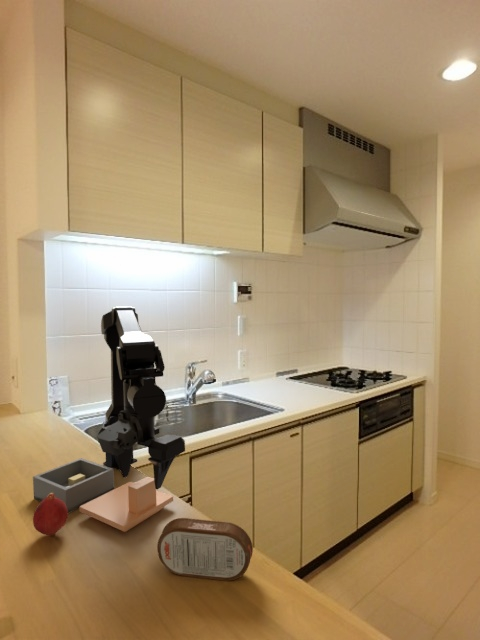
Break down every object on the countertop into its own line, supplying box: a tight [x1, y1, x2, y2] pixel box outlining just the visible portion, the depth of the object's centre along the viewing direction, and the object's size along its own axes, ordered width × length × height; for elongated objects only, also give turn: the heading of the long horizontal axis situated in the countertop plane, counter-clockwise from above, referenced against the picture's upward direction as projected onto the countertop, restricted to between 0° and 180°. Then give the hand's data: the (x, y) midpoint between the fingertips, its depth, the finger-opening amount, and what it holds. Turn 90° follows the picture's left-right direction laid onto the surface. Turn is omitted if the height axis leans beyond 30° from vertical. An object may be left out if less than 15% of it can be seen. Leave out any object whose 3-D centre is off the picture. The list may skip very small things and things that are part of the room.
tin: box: [156, 517, 254, 582], centre depth 63 cm, size 15×3×8 cm, turn 80°
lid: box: [78, 476, 174, 533], centre depth 82 cm, size 13×13×8 cm
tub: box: [32, 458, 115, 514], centre depth 90 cm, size 12×12×5 cm
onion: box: [32, 493, 69, 537], centre depth 74 cm, size 6×6×8 cm
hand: (141, 482), depth 79 cm, fingers open, 9 cm apart
